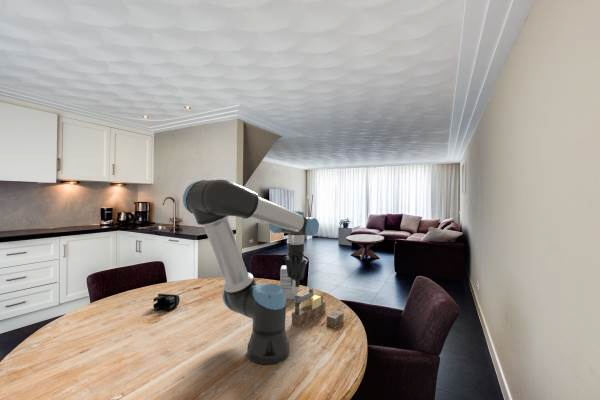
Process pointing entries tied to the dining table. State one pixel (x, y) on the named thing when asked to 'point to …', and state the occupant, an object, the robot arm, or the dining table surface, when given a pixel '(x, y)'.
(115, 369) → the dining table surface
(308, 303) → the gold metallic block
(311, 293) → the lever
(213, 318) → the dining table surface
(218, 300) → the dining table surface
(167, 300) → the end cap
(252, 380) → the dining table surface
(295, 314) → the body
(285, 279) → the supplement box
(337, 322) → the block
